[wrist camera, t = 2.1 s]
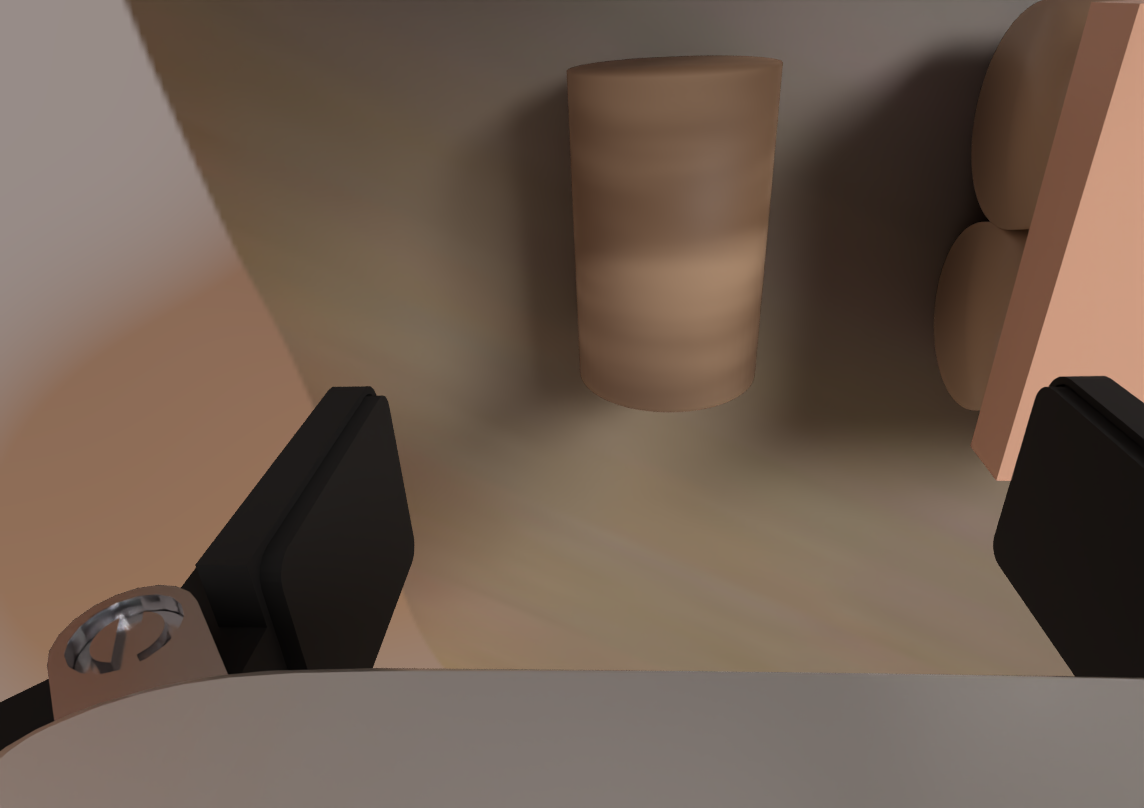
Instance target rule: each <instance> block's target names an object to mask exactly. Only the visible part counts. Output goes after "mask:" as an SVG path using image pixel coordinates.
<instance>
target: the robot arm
mask: <svg viewBox="0 0 1144 808" xmlns="http://www.w3.org/2000/svg"><path fill="white" fill-rule="evenodd" d="M993 549H994V555H995V558H996V561H997V563H998V565H999V566H1000V568H1001V569H1002V571H1003V572H1004V574H1005V575H1006V577H1007V578H1008V579H1009V581H1010V582H1011V584H1012V585H1013V587H1014V588H1015V590H1016V591H1017V593H1018V594H1019V595H1020V597H1021V598H1022V600H1023V601H1024V603H1025V604H1026V606H1027V607H1028V609H1029V610H1030V611H1031V613H1032V614H1033V616H1034V617H1035V619H1036V620H1037V622H1038V623H1039V625H1040V626H1041V627H1042V629H1043V630H1044V632H1045V633H1046V635H1047V636H1048V638H1049V639H1050V641H1051V642H1052V643H1053V645H1054V646H1055V648H1056V649H1057V651H1058V652H1059V654H1060V655H1061V657H1062V658H1063V659H1064V661H1065V662H1066V664H1067V665H1068V667H1069V668H1070V670H1071V671H1072V673H1073V674H1074V675H1075V677H1073V676H1008V675H936V674H868V673H791V672H708V671H634V670H537V669H415V668H414V669H413V668H412V669H411V668H409V669H408V668H373V666H374V663H375V660H376V658H377V655H378V652H379V650H380V647H381V644H382V641H383V639H384V636H385V633H386V630H387V628H388V625H389V623H390V620H391V617H392V615H393V612H394V609H395V607H396V604H397V601H398V599H399V596H400V593H401V591H402V588H403V585H404V583H405V580H406V577H407V575H408V572H409V569H410V567H411V564H412V561H413V556H414V536H413V531H412V525H411V520H410V515H409V509H408V504H407V499H406V493H405V488H404V483H403V477H402V472H401V467H400V461H399V456H398V451H397V445H396V440H395V435H394V429H393V424H392V419H391V413H390V408H389V404H388V401H387V399H386V397H385V396H376V393H375V391H374V389H373V388H372V387H371V386H366V387H332V388H331V389H329V390H328V392H327V393H326V394H325V396H324V397H323V398H322V400H321V401H320V402H319V404H318V405H317V406H316V407H315V409H314V410H313V411H312V413H311V414H310V415H309V417H308V418H307V419H306V421H305V422H304V423H303V425H302V426H301V427H300V429H299V430H298V431H297V432H296V434H295V435H294V436H293V438H292V439H291V440H290V442H289V443H288V444H287V446H286V447H285V448H284V450H283V451H282V452H281V453H280V455H279V456H278V457H277V459H276V460H275V461H274V463H273V464H272V465H271V467H270V468H269V469H268V471H267V472H266V473H265V474H264V476H263V477H262V478H261V480H260V481H259V482H258V483H257V485H256V486H255V487H254V489H253V490H252V492H251V493H250V494H249V495H248V497H247V498H246V499H245V501H244V502H243V503H242V505H241V506H240V507H239V508H238V510H237V511H236V512H235V514H234V515H233V516H232V518H231V519H230V520H229V522H228V523H227V524H226V526H225V527H224V528H223V529H222V531H221V532H220V533H219V535H218V536H217V537H216V539H215V540H214V541H213V542H212V544H211V545H210V546H209V548H208V549H207V550H206V552H205V553H204V554H203V556H202V557H201V558H200V560H199V561H198V562H197V563H196V568H195V570H194V571H193V572H192V574H191V575H190V577H189V578H188V579H187V580H186V582H185V583H184V584H183V586H182V587H181V588H179V587H176V586H164V585H155V586H149V587H142V588H136V589H133V590H130V591H127V592H124V593H121V594H118V595H115V596H113V597H111V598H109V599H107V600H105V601H103V602H101V603H99V604H97V605H95V606H93V607H92V608H90V609H89V610H87V611H86V612H84V613H83V614H81V615H80V616H79V617H78V618H76V619H74V620H73V621H72V622H71V623H70V624H69V625H68V626H67V627H66V628H65V629H64V630H63V631H62V632H61V633H60V634H59V636H58V637H57V639H56V641H55V642H54V644H53V646H52V647H51V649H50V651H49V657H48V663H47V669H48V676H49V679H47V680H45V681H43V682H41V683H39V684H37V685H35V686H33V687H31V688H29V689H27V690H25V691H23V692H21V693H19V694H17V695H14V696H12V697H10V698H8V699H6V700H4V701H2V702H0V808H1144V403H1143V402H1142V401H1141V400H1139V399H1138V398H1137V397H1135V396H1134V395H1133V394H1131V393H1130V392H1128V391H1127V390H1126V389H1124V388H1123V387H1122V386H1120V385H1119V384H1118V383H1116V382H1115V381H1114V380H1112V379H1111V378H1109V377H1107V376H1060V377H1057V378H1056V379H1054V380H1053V381H1052V382H1051V384H1050V385H1049V387H1043V388H1041V389H1040V390H1039V391H1038V393H1037V395H1036V397H1035V400H1034V403H1033V407H1032V410H1031V414H1030V417H1029V420H1028V424H1027V427H1026V431H1025V434H1024V437H1023V441H1022V444H1021V448H1020V451H1019V454H1018V458H1017V461H1016V465H1015V468H1014V471H1013V475H1012V478H1011V482H1010V485H1009V488H1008V492H1007V495H1006V499H1005V502H1004V505H1003V509H1002V512H1001V516H1000V519H999V522H998V526H997V529H996V533H995V536H994V541H993Z"/></svg>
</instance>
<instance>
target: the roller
mask: <svg viewBox="0 0 1144 808" xmlns="http://www.w3.org/2000/svg"><path fill="white" fill-rule="evenodd" d="M782 66H783V62H782V61H780V60H777V59H772V58H764V57H752V56H677V57H655V58H637V59H624V60H614V61H605V62H597V63H591V64H585V65H580V66H575V67H572V68H570V69H568V70H567V90H568V112H569V134H570V156H571V178H572V201H573V223H574V245H575V267H576V289H577V311H578V333H579V356H580V373H581V378H582V380H583V382H584V384H585V385H586V386H587V387H588V388H589V389H590V390H591V391H592V392H593V393H595V394H596V395H598V396H599V397H601V398H603V399H605V400H607V401H610V402H612V403H615V404H618V405H621V406H625V407H628V408H633V409H638V410H645V411H654V412H684V411H694V410H701V409H706V408H710V407H714V406H717V405H721V404H724V403H726V402H728V401H731V400H733V399H735V398H736V397H738V396H740V395H741V394H742V393H744V392H745V391H746V390H747V389H748V388H749V387H750V386H751V384H752V382H753V380H754V376H755V367H756V356H757V344H758V333H759V322H760V311H761V300H762V289H763V278H764V267H765V255H766V244H767V233H768V222H769V211H770V200H771V189H772V178H773V166H774V155H775V144H776V133H777V122H778V111H779V100H780V88H781V77H782Z"/></svg>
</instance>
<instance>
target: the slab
mask: <svg viewBox="0 0 1144 808" xmlns="http://www.w3.org/2000/svg"><path fill="white" fill-rule="evenodd" d="M971 163H972V176H973V183H974V188H975V192H976V196H977V199H978V202H979V204H980V207H981V209H982V211H983V212H984V214H985V216H986V217H987V218H988V220H989V221H990V222H979V223H975V224H973V225H971V226H969V227H968V228H966V229H965V230H964V231H963V232H962V233H961V234H960V235H959V237H958V238H957V239H956V241H955V242H954V244H953V246H952V247H951V249H950V251H949V253H948V255H947V258H946V260H945V263H944V265H943V268H942V272H941V275H940V279H939V283H938V288H937V293H936V300H935V309H934V342H935V351H936V358H937V362H938V367H939V370H940V374H941V377H942V379H943V382H944V384H945V386H946V388H947V390H948V392H949V394H950V395H951V397H952V398H953V399H954V400H955V401H956V402H957V403H958V404H959V405H960V406H962V407H963V408H966V409H968V410H980V413H979V417H978V421H977V424H976V428H975V432H974V435H973V439H972V443H971V448H972V449H973V450H974V452H975V453H976V454H977V456H978V457H979V458H980V459H981V461H982V462H983V463H984V465H985V466H986V467H987V469H988V470H989V471H990V473H991V474H992V475H993V477H994V478H995V479H996V481H1011V478H1012V475H1013V471H1014V468H1015V465H1016V461H1017V458H1018V454H1019V451H1020V448H1021V444H1022V441H1023V437H1024V434H1025V431H1026V427H1027V424H1028V420H1029V417H1030V414H1031V410H1032V407H1033V403H1034V400H1035V397H1036V395H1037V393H1038V391H1039V390H1040V389H1041V388H1043V387H1049V385H1050V384H1051V382H1052V381H1053V380H1054V379H1056V378H1057V377H1060V376H1107V377H1109V378H1111V379H1112V380H1114V381H1115V382H1116V383H1118V384H1119V385H1120V386H1122V387H1123V388H1124V389H1126V390H1127V391H1128V392H1130V393H1131V394H1133V395H1134V396H1135V397H1137V398H1138V399H1139V400H1141V401H1142V402H1143V403H1144V0H1042V1H1039V2H1037V3H1035V4H1033V5H1032V6H1030V7H1029V8H1027V9H1026V10H1025V11H1024V12H1023V13H1022V14H1020V16H1019V17H1018V18H1017V19H1016V20H1015V21H1014V22H1013V24H1012V25H1011V26H1010V28H1009V29H1008V30H1007V32H1006V33H1005V35H1004V37H1003V38H1002V40H1001V42H1000V43H999V45H998V47H997V49H996V51H995V53H994V55H993V58H992V60H991V62H990V65H989V67H988V70H987V72H986V75H985V78H984V81H983V84H982V88H981V91H980V95H979V99H978V103H977V107H976V112H975V118H974V125H973V132H972V146H971Z"/></svg>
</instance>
